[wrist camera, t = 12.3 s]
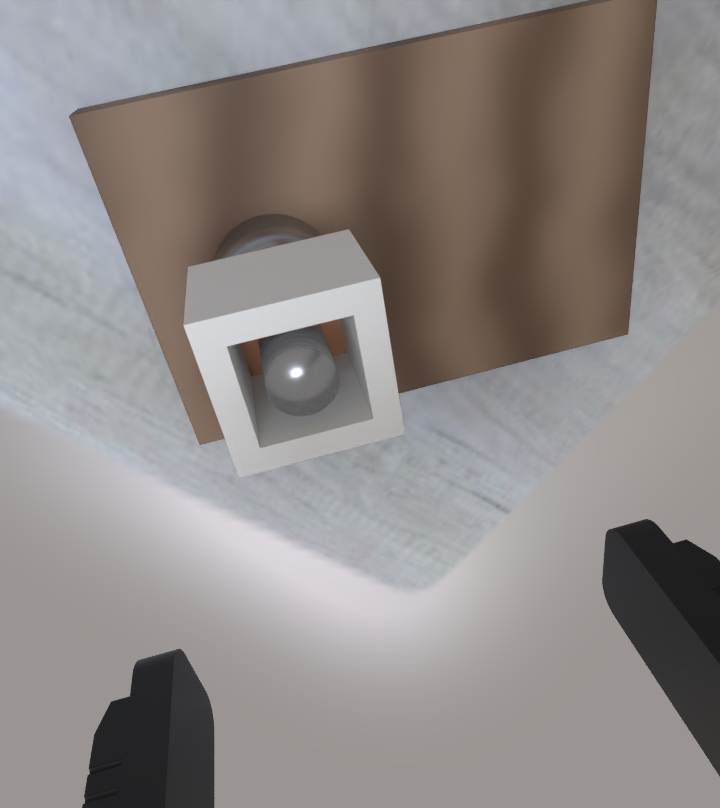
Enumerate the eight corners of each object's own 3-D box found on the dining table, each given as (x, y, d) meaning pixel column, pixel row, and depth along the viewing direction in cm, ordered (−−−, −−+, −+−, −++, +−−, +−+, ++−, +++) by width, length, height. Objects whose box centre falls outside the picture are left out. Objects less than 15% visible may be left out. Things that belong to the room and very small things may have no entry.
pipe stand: (630, -9, 27) (876, -19, 17) (608, 319, 36) (761, 437, 26) (78, 108, 25) (-7, 173, 15) (200, 423, 34) (197, 594, 24)
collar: (348, 229, 23) (380, 277, 19) (373, 367, 26) (405, 434, 22) (187, 266, 22) (183, 325, 18) (234, 402, 26) (239, 477, 22)
